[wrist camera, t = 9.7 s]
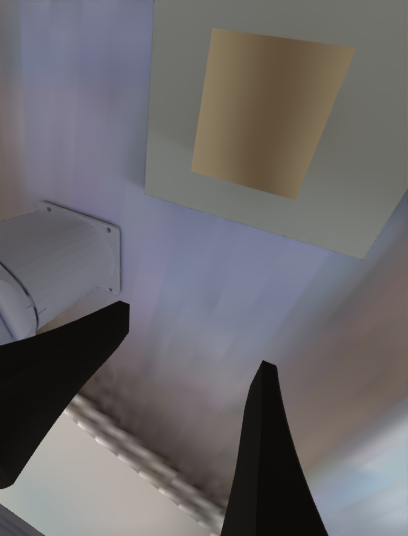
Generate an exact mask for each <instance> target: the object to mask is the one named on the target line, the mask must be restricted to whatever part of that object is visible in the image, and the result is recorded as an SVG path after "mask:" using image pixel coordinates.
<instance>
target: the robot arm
mask: <svg viewBox="0 0 408 536" xmlns="http://www.w3.org/2000/svg"><path fill="white" fill-rule="evenodd" d="M38 209H39V211H38V212H34V213H30V214H26V215H22V216H18V217H14V218H10V219H7V220H3V221H0V489H4V488H7V487H9V486H11V485H12V484H14V482H15V481H16V479H17V477H18V476H19V474H20V473H21V471H22V470H23V468H24V467H25V465H26V464H27V462H28V461H29V459H30V458H31V456H32V455H33V453H34V452H35V450H36V449H37V447H38V446H39V444H40V442H41V441H42V440H43V438H44V437H45V436H46V434H47V433H48V431H49V430H50V429H51V427H52V426H53V424H54V423H55V421H56V420H57V419H58V418H59V416H60V415H61V414H62V412H63V411H64V409H65V408H66V407H67V405H68V404H69V403H70V402H71V400H72V399H73V398H74V396H75V395H76V394H77V392H78V391H79V390H80V389H81V388H82V386H83V385H84V384H85V383H86V382H87V381H88V380H89V379H90V377H91V376H92V375H93V374H94V373H95V372H96V371H97V370H98V369H99V368H100V367H101V366H102V364H103V363H104V362H105V361H106V360H107V359H108V358H109V357H110V356H111V355H112V353H113V352H114V351H115V350H116V349H117V348H118V347H119V345H120V344H121V342H122V341H123V340H124V338H125V337H126V335H127V334H128V332H129V310H130V304H127V303H125V302H122V301H118V302H115V303H113V304H111V305H109V306H107V307H104V308H102V309H100V310H98V311H96V312H94V313H91V314H89V315H87V316H85V317H82V318H80V319H78V320H75V321H73V322H70V323H68V324H65V325H63V326H61V327H58V328H56V329H53V330H50V331H47V332H44V333H41V334H38V335H35V331H37V330H38V329H39V328H41V327H42V326H44V325H45V324H46V323H48V322H49V321H51V320H52V319H53V318H55V317H56V316H58V315H59V314H61V313H62V312H63V311H65V310H66V309H68V308H69V307H70V306H72V305H73V304H75V303H76V302H77V301H79V300H80V299H82V298H83V297H85V296H86V295H87V294H89V293H90V292H92V291H93V290H94V289H96V288H97V287H98V288H100V289H102V290H105V291H107V292H110V293H112V294H115V295H117V294H118V293H120V231H119V228H118V227H117V226H115V225H112V224H109V223H106V222H103V221H100V220H97V219H94V218H91V217H88V216H85V215H82V214H80V213H77V212H74V211H71V210H68V209H65V208H62V207H59V206H56V205H53V204H50V203H47V202H44V201H40V202H38ZM109 228H110V230H111V231H110V230H109ZM0 536H45V535H43V534H42V533H40V532H39V531H38V530H36V529H35V528H34V527H32V526H31V525H29V524H28V523H27V522H25V521H24V520H22V519H21V518H20V517H18V516H17V515H15V514H14V513H13V512H11V511H10V510H8V509H7V508H5V507H4V506H3V505H1V504H0ZM220 536H328V534H327V531H326V529H325V527H324V524H323V522H322V519H321V517H320V515H319V512H318V510H317V508H316V505H315V503H314V500H313V498H312V495H311V493H310V490H309V487H308V485H307V482H306V479H305V477H304V474H303V471H302V468H301V465H300V462H299V459H298V456H297V453H296V450H295V447H294V443H293V440H292V437H291V433H290V430H289V426H288V422H287V418H286V414H285V410H284V405H283V401H282V396H281V391H280V385H279V379H278V371H277V367H276V365H273V364H271V363H268V362H266V361H264V360H263V361H262V363H261V365H260V367H259V369H258V371H257V373H256V375H255V377H254V379H253V381H252V383H251V385H250V389H249V393H248V397H247V401H246V405H245V410H244V416H243V423H242V430H241V437H240V444H239V451H238V458H237V464H236V470H235V475H234V480H233V484H232V488H231V493H230V497H229V502H228V506H227V510H226V514H225V519H224V523H223V527H222V531H221V535H220Z"/></svg>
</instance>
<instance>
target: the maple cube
mask: <svg viewBox="0 0 408 536" xmlns="http://www.w3.org/2000/svg"><path fill="white" fill-rule="evenodd" d="M355 50H356V48H354V47H347V46H339V45H332V44H325V43H318V42H310V41H303V40H296V39H289V38H281V37H274V36H267V35H260V34H252V33H245V32H238V31H231V30H223V29H216V28H212V34H211V41H210V47H209V54H208V60H207V67H206V74H205V80H204V87H203V93H202V100H201V106H200V113H199V119H198V126H197V133H196V139H195V146H194V152H193V159H192V165H191V172H195V173H199V174H202V175H206V176H210V177H213V178H217V179H220V180H224V181H228V182H231V183H235V184H239V185H242V186H246V187H249V188H253V189H257V190H260V191H264V192H268V193H271V194H275V195H278V196H282V197H286V198H289V199H293V200H296V198H297V195H298V193H299V190H300V188H301V185H302V183H303V180H304V178H305V175H306V173H307V170H308V168H309V165H310V163H311V160H312V158H313V155H314V153H315V150H316V148H317V145H318V143H319V140H320V138H321V135H322V133H323V130H324V128H325V125H326V123H327V120H328V118H329V115H330V113H331V110H332V107H333V105H334V102H335V100H336V97H337V95H338V92H339V90H340V87H341V85H342V82H343V80H344V77H345V75H346V72H347V70H348V67H349V65H350V62H351V60H352V57H353V55H354V52H355Z"/></svg>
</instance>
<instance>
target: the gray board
mask: <svg viewBox="0 0 408 536" xmlns="http://www.w3.org/2000/svg"><path fill="white" fill-rule="evenodd" d="M212 28H216V29H223V30H231V31H238V32H245V33H252V34H260V35H267V36H274V37H281V38H289V39H296V40H303V41H310V42H318V43H325V44H332V45H339V46H347V47H354V48H356V50H355V52H354V55H353V57H352V60H351V62H350V65H349V67H348V70H347V72H346V75H345V77H344V80H343V82H342V85H341V87H340V90H339V92H338V95H337V97H336V100H335V102H334V105H333V107H332V110H331V113H330V115H329V118H328V120H327V123H326V125H325V128H324V130H323V133H322V135H321V138H320V140H319V143H318V145H317V148H316V150H315V153H314V155H313V158H312V160H311V163H310V165H309V168H308V170H307V173H306V175H305V178H304V180H303V183H302V185H301V188H300V190H299V193H298V195H297V198H296V200H293V199H289V198H286V197H282V196H278V195H275V194H271V193H268V192H264V191H260V190H257V189H253V188H249V187H246V186H242V185H239V184H235V183H231V182H228V181H224V180H220V179H217V178H213V177H210V176H206V175H202V174H199V173H195V172H191V165H192V159H193V152H194V146H195V139H196V133H197V126H198V119H199V113H200V106H201V100H202V93H203V87H204V80H205V74H206V67H207V60H208V54H209V47H210V41H211V34H212ZM407 189H408V0H154V15H153V35H152V55H151V74H150V94H149V114H148V134H147V154H146V174H145V195H148V196H152V197H155V198H158V199H162V200H165V201H168V202H172V203H175V204H178V205H181V206H185V207H188V208H191V209H195V210H198V211H201V212H205V213H208V214H211V215H215V216H218V217H221V218H225V219H228V220H231V221H235V222H238V223H241V224H245V225H248V226H251V227H255V228H258V229H261V230H265V231H268V232H271V233H275V234H278V235H281V236H285V237H288V238H291V239H295V240H298V241H301V242H305V243H308V244H311V245H315V246H318V247H321V248H325V249H328V250H331V251H335V252H338V253H341V254H345V255H348V256H351V257H354V258H358V259H361V260H364V258H365V257H366V255H367V253H368V252H369V250H370V249H371V247H372V245H373V244H374V242H375V241H376V239H377V237H378V236H379V234H380V232H381V231H382V229H383V228H384V226H385V224H386V223H387V221H388V220H389V218H390V216H391V215H392V213H393V212H394V210H395V208H396V207H397V205H398V204H399V202H400V200H401V199H402V197H403V196H404V194H405V192H406V191H407Z"/></svg>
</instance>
